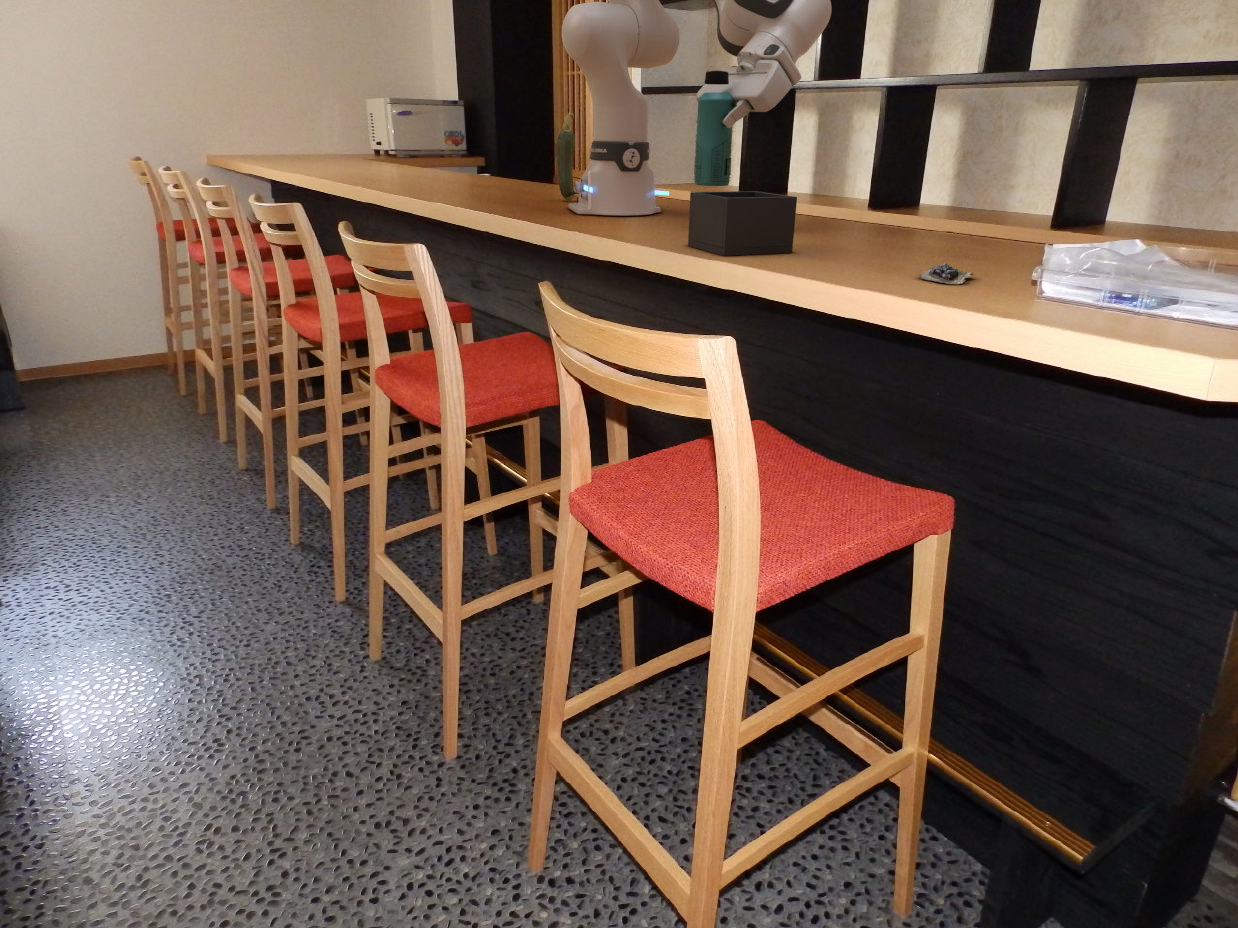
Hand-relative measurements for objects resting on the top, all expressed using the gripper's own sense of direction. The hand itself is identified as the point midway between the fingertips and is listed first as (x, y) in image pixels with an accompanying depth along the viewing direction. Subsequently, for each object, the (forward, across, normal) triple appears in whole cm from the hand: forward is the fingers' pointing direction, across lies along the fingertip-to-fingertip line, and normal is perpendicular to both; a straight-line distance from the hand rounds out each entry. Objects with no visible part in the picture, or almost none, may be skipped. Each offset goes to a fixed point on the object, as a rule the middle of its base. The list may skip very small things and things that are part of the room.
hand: (711, 125), depth 146 cm
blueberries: (+13, +57, +11) cm, 60 cm away
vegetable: (+13, -62, +13) cm, 65 cm away
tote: (+19, +24, +5) cm, 32 cm away
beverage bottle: (+8, 0, +9) cm, 12 cm away
